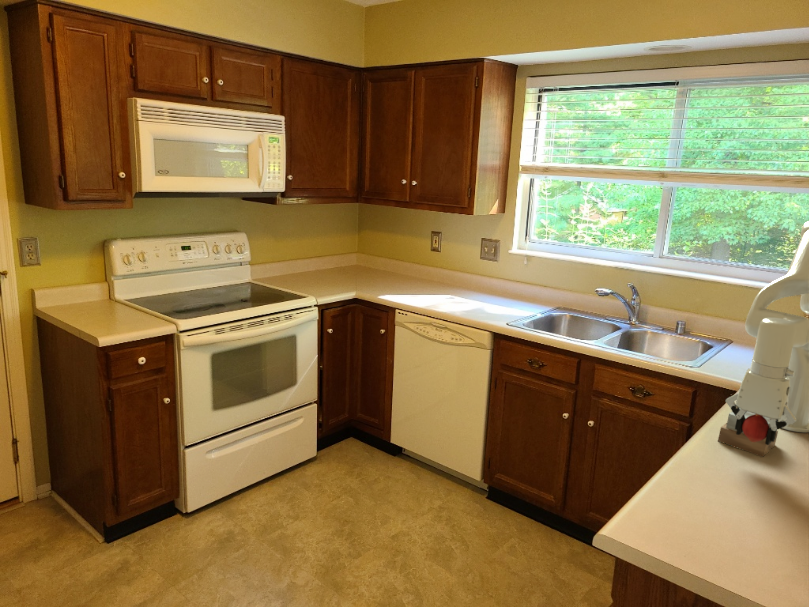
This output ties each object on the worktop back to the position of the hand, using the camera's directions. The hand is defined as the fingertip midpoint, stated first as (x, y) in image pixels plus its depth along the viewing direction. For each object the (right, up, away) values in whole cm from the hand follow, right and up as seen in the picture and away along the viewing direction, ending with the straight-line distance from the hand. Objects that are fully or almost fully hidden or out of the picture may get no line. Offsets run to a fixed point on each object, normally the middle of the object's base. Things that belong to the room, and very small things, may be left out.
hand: (753, 437), depth 149 cm
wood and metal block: (+6, -5, +14) cm, 15 cm away
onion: (0, -1, 0) cm, 1 cm away
